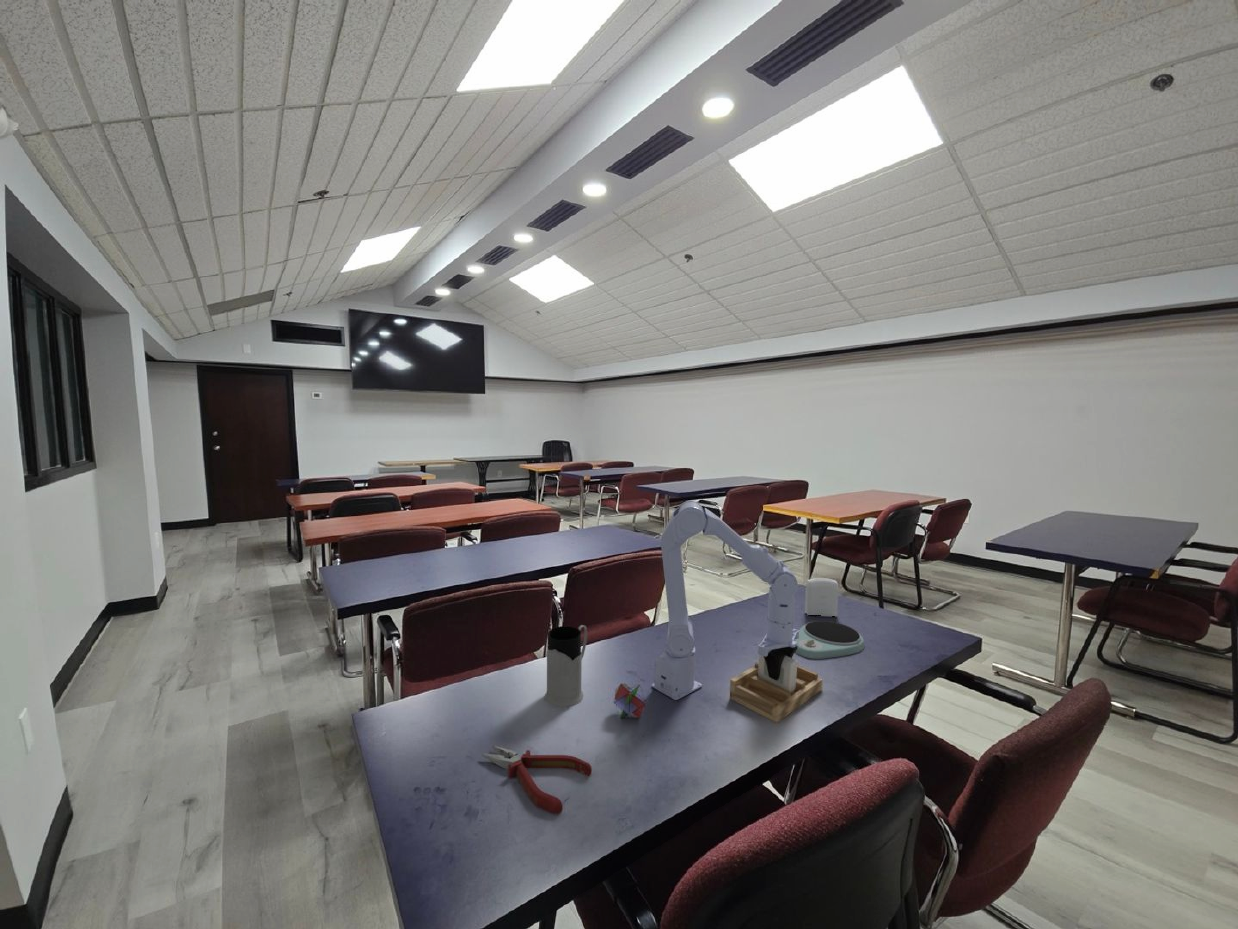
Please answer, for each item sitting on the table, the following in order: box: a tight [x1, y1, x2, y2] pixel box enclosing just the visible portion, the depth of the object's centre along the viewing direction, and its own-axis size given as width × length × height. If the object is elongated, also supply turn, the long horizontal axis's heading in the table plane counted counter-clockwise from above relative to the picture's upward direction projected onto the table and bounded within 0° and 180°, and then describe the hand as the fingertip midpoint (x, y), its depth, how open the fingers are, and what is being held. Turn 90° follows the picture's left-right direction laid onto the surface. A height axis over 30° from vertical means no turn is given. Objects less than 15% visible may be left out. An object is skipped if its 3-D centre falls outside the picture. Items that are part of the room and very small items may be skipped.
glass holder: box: [544, 624, 588, 709], centre depth 114 cm, size 9×14×15 cm, turn 154°
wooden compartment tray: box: [729, 661, 824, 723], centre depth 114 cm, size 20×12×5 cm, turn 132°
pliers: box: [481, 745, 593, 815], centre depth 88 cm, size 12×20×3 cm, turn 62°
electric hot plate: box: [794, 620, 865, 660], centre depth 142 cm, size 18×4×25 cm
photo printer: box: [804, 577, 839, 617], centre depth 162 cm, size 10×4×12 cm, turn 85°
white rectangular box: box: [758, 654, 799, 692], centre depth 114 cm, size 3×8×7 cm, turn 41°
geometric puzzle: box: [612, 683, 647, 720], centre depth 105 cm, size 7×7×8 cm
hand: (777, 675), depth 114 cm, fingers closed on white rectangular box, 3 cm apart
